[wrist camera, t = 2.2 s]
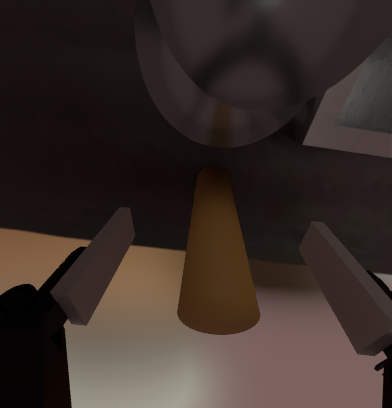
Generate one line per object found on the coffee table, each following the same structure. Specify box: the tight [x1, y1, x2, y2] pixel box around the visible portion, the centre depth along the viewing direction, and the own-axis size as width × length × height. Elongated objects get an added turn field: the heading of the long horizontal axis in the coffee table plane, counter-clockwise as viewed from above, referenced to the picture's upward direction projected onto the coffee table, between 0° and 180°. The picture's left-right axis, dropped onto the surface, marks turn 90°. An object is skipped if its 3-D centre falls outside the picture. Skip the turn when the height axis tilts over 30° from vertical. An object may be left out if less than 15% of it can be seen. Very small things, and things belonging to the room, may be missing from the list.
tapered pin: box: [177, 166, 260, 335], centre depth 14 cm, size 4×4×14 cm
